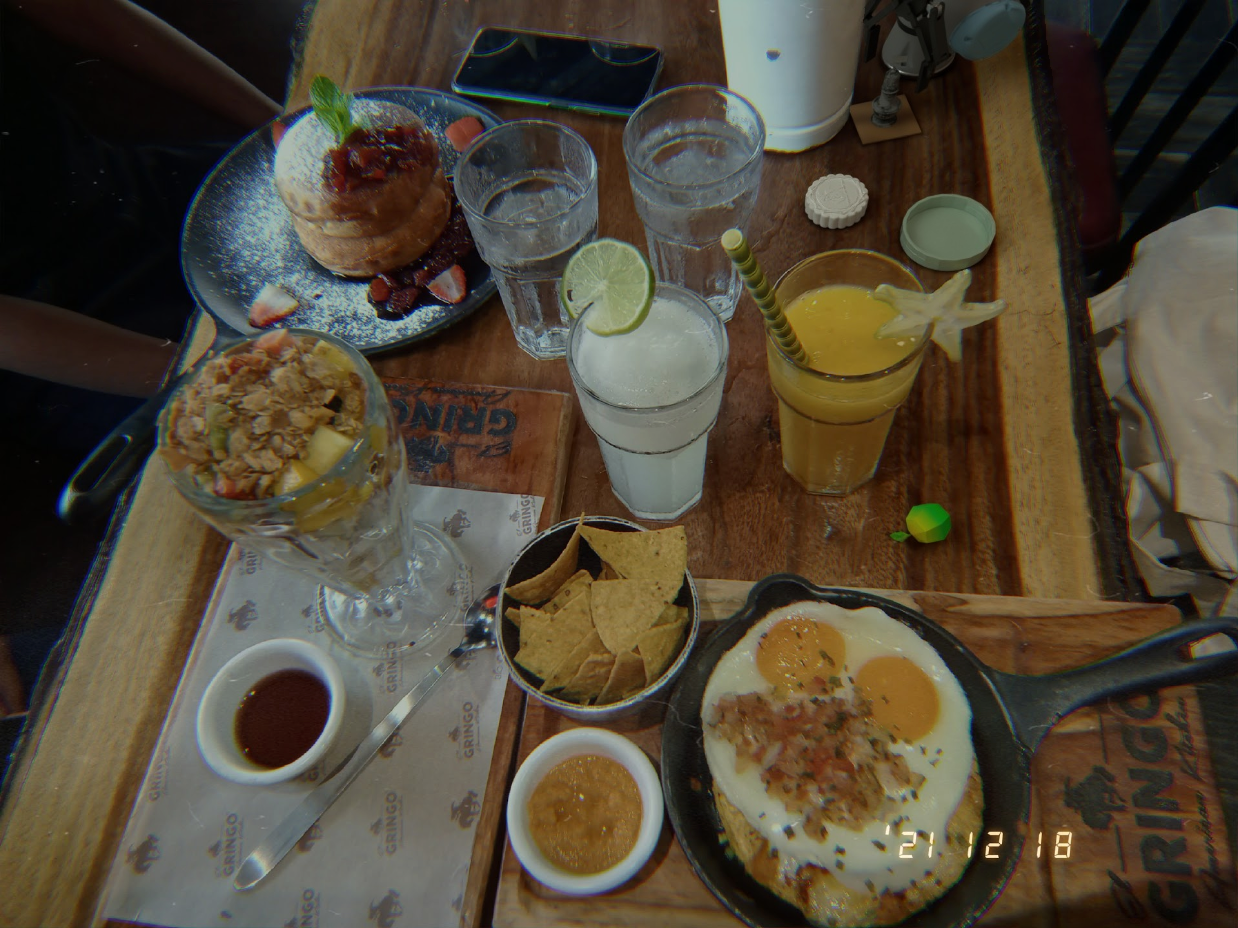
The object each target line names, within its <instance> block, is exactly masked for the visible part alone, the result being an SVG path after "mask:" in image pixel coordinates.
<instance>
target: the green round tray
mask: <svg viewBox="0 0 1238 928" xmlns="http://www.w3.org/2000/svg"><path fill="white" fill-rule="evenodd" d="M996 228H997V227H996V221H995V219H994V217H993V214H992V212H991V211H989V209H988V208H987V207H985V206H984V205H983V204H982V203H981V202H979V201H978V200H975V199H973V198H971V197H968V196H964V195H961V194H957V193H940V194H934V195H930V196H929V195H928V196H926V197H924V198H923V199H920V200H918V201H916V202H915V203H914V204H912V206H911V207H909V209H907V211H906V213H905V215H904V217H903V219H902V223H901V227H900V233H899V241H900V245H901V247H902V249H903V251H904V252H905V254H906V255H907V257H909V258H910V259H911V260H912V261H914V262H915V263H917V264H918V265H920V266H923V267H924V268H927V269H931V270H934V271H940V272H953V271H954V272H955V271H961V270H963V269H964V270H965V269H967V268H970V267H972V266H974V265H976V264H978V263H979V262H980V261H982V259H983V258H985V256H986V255H988V253H989V250H990V247H991V245H992V243H993V241H994V239H995V236H996V232H997V231H996Z"/></svg>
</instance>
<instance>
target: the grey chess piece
mask: <svg viewBox="0 0 1238 928" xmlns="http://www.w3.org/2000/svg"><path fill="white" fill-rule="evenodd" d="M900 79H901V78H900V72H899V70H897V69H896V68H895V67H893V68H892V69H890V70H888V71H887V70H886V72H885V74H884V80H883V84H881V86H880V90H881V91H880V92H881V93H880V95H878V96H876V97H875V98H874V99H873V100H872V101H873V102H872V108H873V112H874V113H873V114H872V116H871V122H872V123H873V124H874V125H875V126H877V127H882V128H885V127H890V126H892V125H894V124H895V123H896V121H897V116H896V114H897V112H898V111H899V110H900V108H901V105H902V102H901V100H900V99H899V98H898V97H896V96H898V95H897V94H898V92H899V91H900V89H901V88H900Z"/></svg>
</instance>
